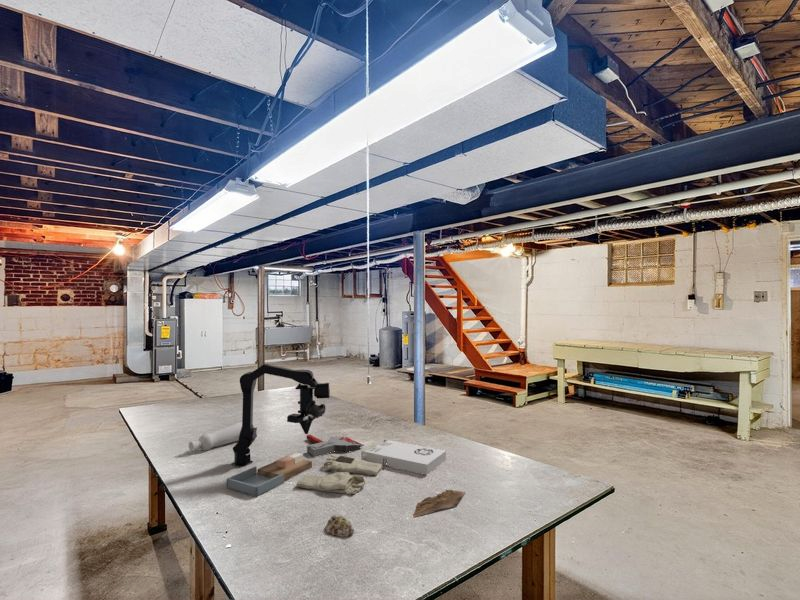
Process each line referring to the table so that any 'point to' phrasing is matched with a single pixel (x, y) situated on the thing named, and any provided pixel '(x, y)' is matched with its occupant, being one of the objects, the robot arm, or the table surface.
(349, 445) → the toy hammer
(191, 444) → the bottle
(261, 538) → the table surface
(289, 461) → the terracotta tile
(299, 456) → the cream tile
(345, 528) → the mineral rock
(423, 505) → the wooden fragment
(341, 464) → the pair of gloves
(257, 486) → the tray
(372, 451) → the power supply unit
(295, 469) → the board
